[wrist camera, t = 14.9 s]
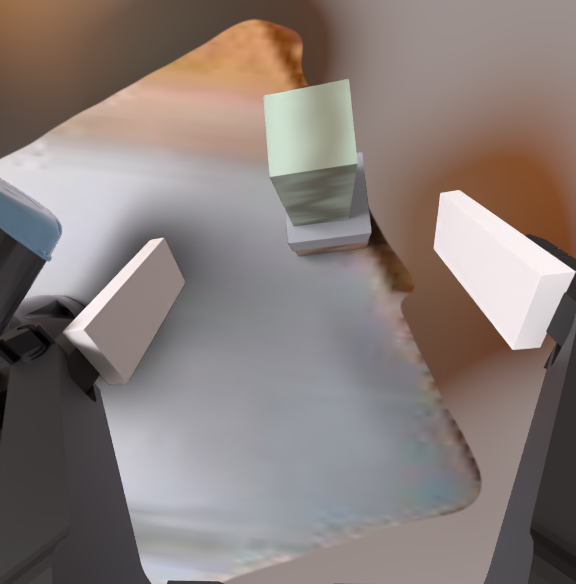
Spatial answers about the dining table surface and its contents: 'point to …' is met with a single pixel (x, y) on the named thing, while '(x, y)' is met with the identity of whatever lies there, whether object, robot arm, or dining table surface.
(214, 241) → the dining table surface
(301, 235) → the slate block
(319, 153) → the sage block
